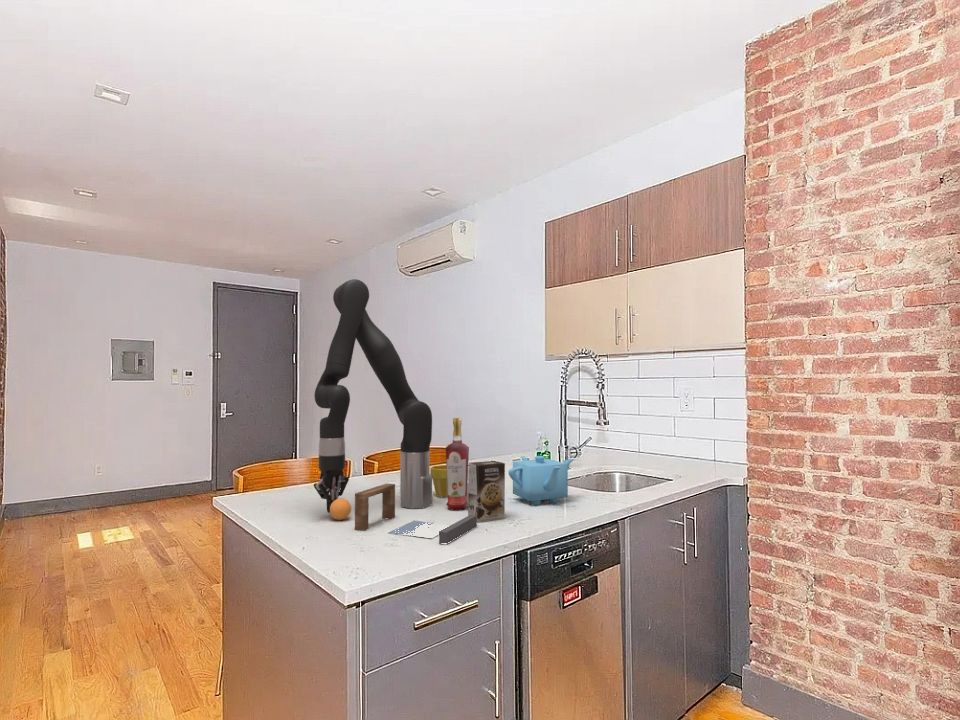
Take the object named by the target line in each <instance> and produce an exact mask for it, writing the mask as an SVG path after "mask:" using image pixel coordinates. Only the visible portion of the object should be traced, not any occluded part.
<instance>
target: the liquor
mask: <svg viewBox="0 0 960 720" xmlns="http://www.w3.org/2000/svg"><path fill="white" fill-rule="evenodd" d="M462 420H463V419H462V418H461V417H453V418H452V425H453V432H452V442H451V443H450V444H447V445H446V447H445V465H446V469H447V494H448V497H447V502H446V503H445V505H446V506H447V507H448V508H449V510H451V509H453V510H452V511H460V509H462V510H464V509H465V508H466V507H468V503H467V477H468V465H469V459H470V458H469V455H470V454H469V453H470V452H469V451H470V447H469V446H468V445H467V444H466V443H463V438H462V437H463V435H462Z"/></svg>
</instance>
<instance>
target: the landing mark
mask: <svg viewBox="0 0 960 720" xmlns="http://www.w3.org/2000/svg"><path fill="white" fill-rule="evenodd" d="M426 522H427V521H420V520H412V521H410V522H408V523H405V524H404V525H401V526H399V527H397V528H395V529H392V530H390V531H389V532H387V533H388V534H390V533H395V532H396V533H395V534H394V535H397V534H404V533H406V532H407V533H406V534H408V533H410V532H411V531H413V530H414V531H415V529H416V528H415V527H416V526H418V527H419V526H420V525H423V524H425V523H426ZM422 523H423V524H422ZM428 523H431V524H433V523H434V522H427V524H428ZM419 524H420V525H419ZM431 524H428V525H431ZM418 527H417V528H418ZM398 528H399V529H398ZM428 528H429V527H428ZM395 530H396V531H395ZM398 530H399V531H398ZM406 530H407V531H406ZM408 531H410V532H408ZM398 532H399V533H398ZM403 532H404V533H403ZM411 533H413V532H411ZM414 533H415V532H414ZM412 535H413V534H412ZM409 537H411V535H410V536H409Z"/></svg>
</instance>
